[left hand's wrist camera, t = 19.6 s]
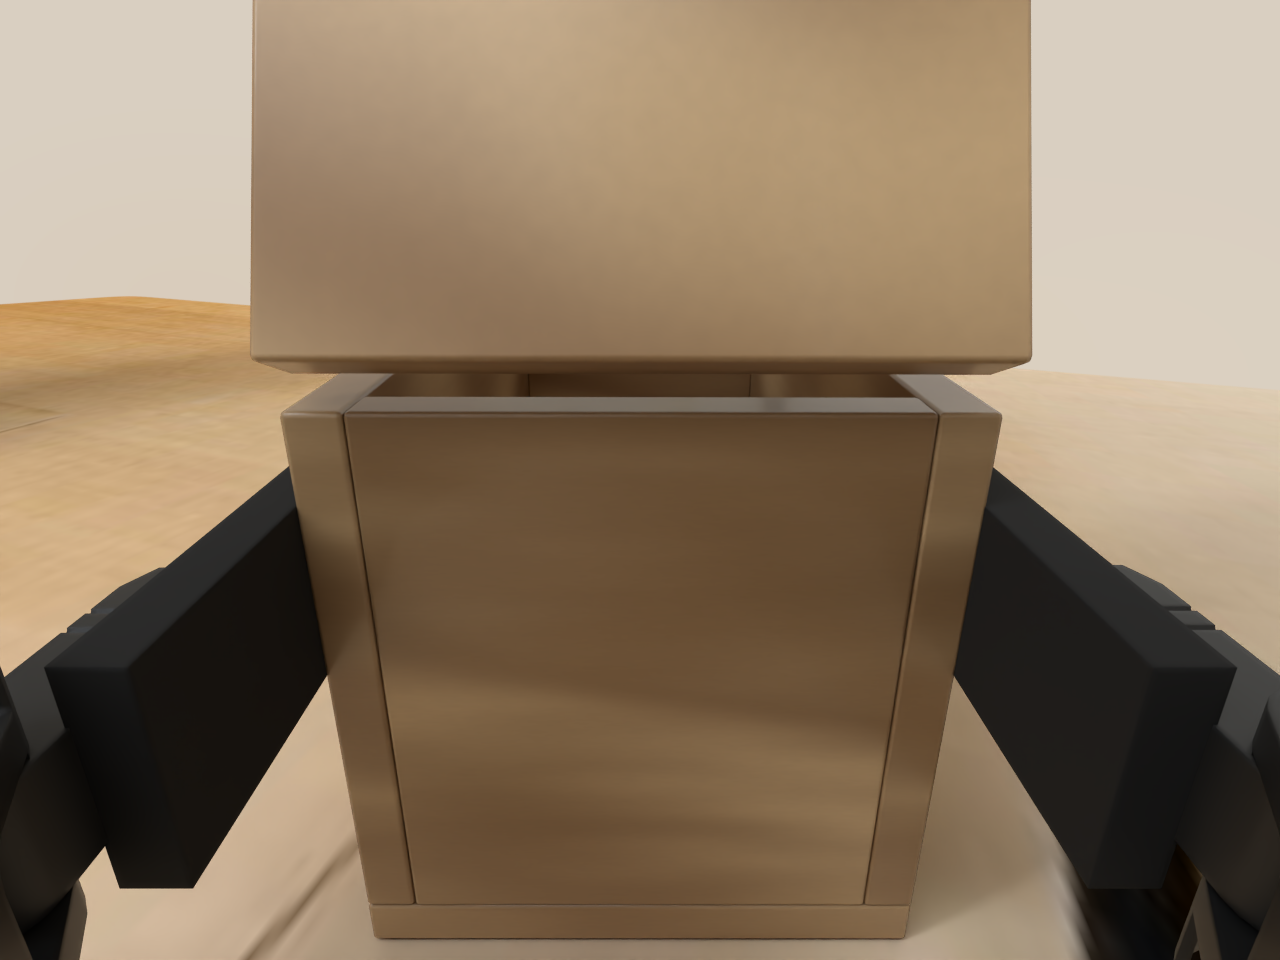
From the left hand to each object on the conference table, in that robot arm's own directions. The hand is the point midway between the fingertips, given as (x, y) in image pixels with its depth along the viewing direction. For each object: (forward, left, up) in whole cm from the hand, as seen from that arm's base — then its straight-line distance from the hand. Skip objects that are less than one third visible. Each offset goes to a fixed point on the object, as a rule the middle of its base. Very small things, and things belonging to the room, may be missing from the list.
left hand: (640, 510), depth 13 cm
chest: (+5, -3, -7) cm, 9 cm away
